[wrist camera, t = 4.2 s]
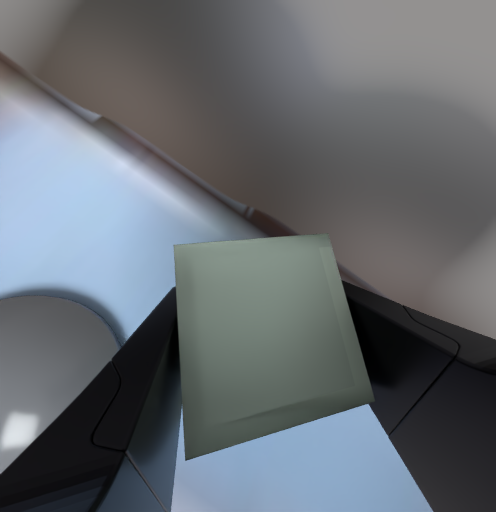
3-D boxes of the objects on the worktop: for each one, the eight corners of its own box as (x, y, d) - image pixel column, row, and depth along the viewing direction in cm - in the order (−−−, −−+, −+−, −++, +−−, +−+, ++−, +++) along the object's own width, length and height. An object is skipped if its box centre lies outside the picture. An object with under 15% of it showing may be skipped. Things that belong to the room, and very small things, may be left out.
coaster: (163, 358, 13) (161, 360, 12) (-2, 593, 9) (-17, 612, 8) (23, 263, 13) (15, 260, 12) (-202, 455, 9) (-229, 464, 8)
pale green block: (275, 350, 14) (375, 401, 6) (200, 365, 13) (185, 460, 4) (262, 278, 15) (327, 233, 7) (194, 287, 14) (173, 244, 6)
